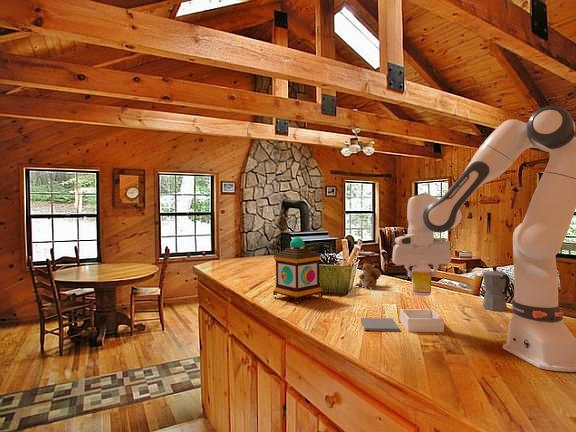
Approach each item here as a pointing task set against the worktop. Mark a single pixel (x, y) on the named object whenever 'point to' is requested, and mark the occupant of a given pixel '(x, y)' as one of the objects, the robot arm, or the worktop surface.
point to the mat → (380, 324)
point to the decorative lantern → (297, 271)
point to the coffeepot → (495, 290)
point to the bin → (421, 320)
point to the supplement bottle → (421, 279)
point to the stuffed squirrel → (369, 276)
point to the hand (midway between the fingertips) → (421, 276)
